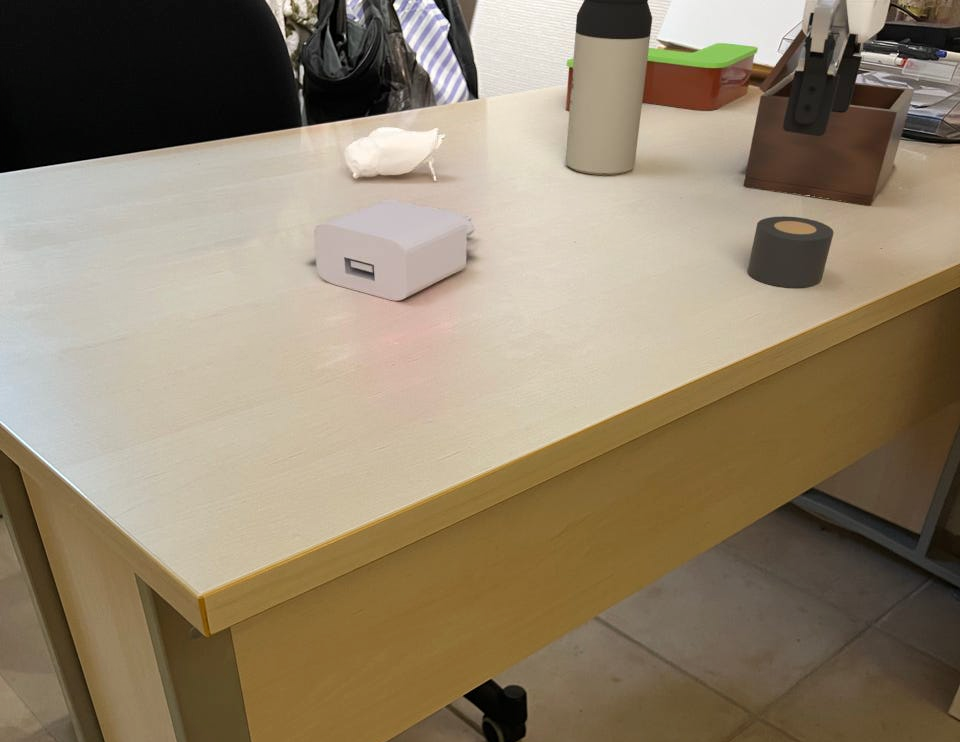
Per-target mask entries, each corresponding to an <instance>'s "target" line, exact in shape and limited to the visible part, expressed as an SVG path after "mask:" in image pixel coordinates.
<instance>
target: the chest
mask: <svg viewBox="0 0 960 742" xmlns="http://www.w3.org/2000/svg"><path fill="white" fill-rule="evenodd" d="M793 78H794V75H792V74H790V75H789V76H787V77H786V78H785V79H783V80H782V81H780V82H779V83H778V84H776V85H775V86H773V87H772V88H771V89H769V90H768V91H766V92H765V93H764V92H763V94H761V95H760V97H759V102H758V107H757V113H756V119H755V124H754V129H753V134H752V139H751V143H750V144H751V145H750V149H749V154H748V158H747V159H748V160H747V165H746V169H745V174H744V180H743V187H744V186H745V188H750V187H751V189H757V188H759V189H758V190H763V189H765V190H764V191H770V190H774V191H773V192H776V191H781V192H780V193H783V192H787V193H786V194H789V193H796V194H801V195H800V196H802V195H810V196H815V197H822V198H829V199H834V200H833V201H835V200H841V201H846V202H845V203H848V202H852V203H851V204H854V203H858V204H857V205H861V204H864V205H863V206H867V205H869V207H870V206H872V205H873V204H874V201H875V200H876V198H878V195H879V194H880V192H881V190H882V189H883V188H884V186H885V185H886V183H887V181H888V179H889V178H890V176H891V173H892V169H893V166H894V162H895V159H896V156H897V153H898V148H899V145H900V141H901V138H902V135H903V132H904V127H905V124H906V120H907V117H908V114H909V110H910V106H911V103H912V100H913V96H914V92H915V88H908V87H899V86H891V85H890V86H889V85H883V84H881V85H880V84H872V83H864V82H863V83H862V82H856V83H855V87H854V90H853V94H852V98H851V102H850V106H849V109H848V110H847V111H846V112H844V113H839V112H832V111H831V114H830V118H829V122H828V126H827V130H826V132H825V133H824V134H823V135H822V136H814V135H807V134H800V133H793V132H787V131H785V130H784V129H783V123H784V119H785V114H786V110H787V105H788V101H789V96H790V92H791V87H792V83H793ZM796 194H795V195H796ZM815 197H814V198H815ZM822 198H821V199H822ZM841 201H840V202H841Z"/></svg>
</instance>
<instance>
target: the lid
mask: <svg viewBox="0 0 960 742" xmlns="http://www.w3.org/2000/svg"><path fill="white" fill-rule="evenodd" d="M806 37H807V36H806V35H805V33H804V32H803V30H802V28H801V29H800V31H799V32H798V33H797V35H796V36H795V37H794V39H793V40H792V42H791V43H790V44H789V45H788V47H787V48H786V50H785V52H784V53H783V54H782V55H781V57H780V58H779V60H778V61H777V62H776V64H774V66H773V68H772V69H771V71H770V72H769V73H768V75H767V76H766V78H765V79H764V80H763V82H762V83H761V84H760V86H758V87H759V90H761V91H762V92H763V94H764V93H766V92H767V91H768V90H770V89H771V88H772V87H774V86H775V85H777V84H778V83H779V82H781V81H782V80H784V79H785V78H786V77H788V76H789V75H792V74H793V73H795V71H796V70H797V65H798V61H799V58H800V55H801V52H802V49H803V46H804V43H805V39H806Z"/></svg>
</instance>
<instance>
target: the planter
mask: <svg viewBox="0 0 960 742" xmlns="http://www.w3.org/2000/svg"><path fill="white" fill-rule="evenodd" d="M757 53H758V47H757V46H753V45H752V46H751V45H743V44H734V43H726V42H717V43H714V44H712V45H708V46H706V47H704V48H701V49H699V50H696V51H694V52H689V51H688V52H687V51H678V50H670V49H662V48H655V47H649V50H648V58H647V67H646V75H645V83H644V91H643V100H642V104H644V103H645V104H650V105H658V106H665V107H673V108H677V109H678V108H679V109H687V110H692V111H705V112H706V111H707V112H708V111H715V110H718V109H721V108H722V107H724V106H726V105H728V104H730V103H732V102H734V101H735V100H737V99H738V98H740V97H742V96H745V95H746V94H748V91H749V87H750V81H751V75H752V71H753V65H754V60H755V59H754V58H755V54H757ZM573 59H574V57H573V58H570V59H568V60H566V67H568V75H567V87H566V99H565V100H566V101H565V110H566V111H567V112H569V111H570V98H571V85H572V72H573Z"/></svg>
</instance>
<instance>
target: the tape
mask: <svg viewBox="0 0 960 742" xmlns="http://www.w3.org/2000/svg"><path fill="white" fill-rule="evenodd" d="M834 234H835V233H834V230H833V228H832V227H830V226H828V224H825V223H823V222H820V221H817V220H814V219H810V218H805V217H797V216H770V217H766V218H762V219H760V220H759V221H758V222H757V223H756V227H755V232H754V237H753V242H752V247H751V250H750V251H751V252H750V257H749V262H748V265H747V274H748V275H749V276H750V277H751V278H752V279H754V280H756V281H758V282H761V283H763V284H765V285H771V286H775V287H780V288H791V289H798V288H800V289H801V288H809V287H813V286H816V285H818V284H820V282H821V281H822V280H823V276H824V272H825V269H826V268H825V267H826V264H827V260H828V256H829V252H830V248H831V245H832V241H833V237H834Z"/></svg>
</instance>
